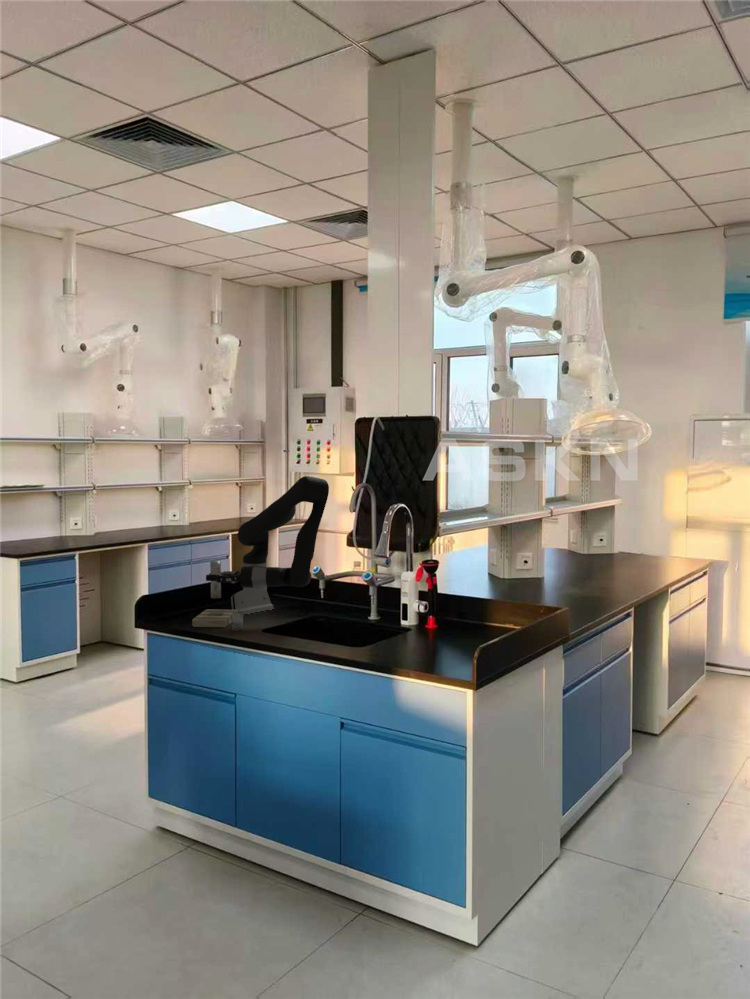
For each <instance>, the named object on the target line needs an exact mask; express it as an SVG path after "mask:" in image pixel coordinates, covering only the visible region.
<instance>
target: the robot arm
mask: <svg viewBox="0 0 750 999" xmlns="http://www.w3.org/2000/svg"><path fill="white" fill-rule="evenodd" d="M329 490H330V486H329V483H328V482H327V480H326V479H323V478H319V477H314V476H307V475H306V476H302V477H300V478H298V480H296V482H294V484H292V486H291V487H290V488H289V489H288V490H287V491H285V493H284V494H282V495H281V496H280V497H279V498H278V499H276V500H275V501H274V502H272V503H271V504H269V506H267V507H266V508H264V510H262V511H260V513H258V514H257V515H256V516H254V517H253V518H252V519H249V520H247V521H246V522H244V523H242V524H241V525H240V527H239V528H238V531H237V539H238V542H239V543H240V544H241V545H243V546H247V547H251V546H253V547H252V549H251V550H250V551H249V552H247V553H245V554H244V555H243V557H242V566H241V569H240V571H239V570H232V571H231V570H227V571H226V570H225V571H221V574H217V575H211V573H210V572H209V573H208V574H206V575H205V581H206V582H211V581H216V582H218V583H221V584H237V583H238V582H239V583H240V586H241V587H242V590H244V589H249V588H261V589H265V590H266V591H267V590H268V588H271V587H272V588H273V587H274V588H278V587H279V588H280V587H283V586H286V587H296V588H303V587H306V586H307V585H309V584H310V582H311V581H312V573H311V565H312V564H311V563H312V560H313V559H314V555H315V548H316V543H317V542H316V540H317V537H318V536H317V535H318V532H319V529H320V525H321V521H322V518H323V515H324V511H325V508H326V505H327V503H328V499H329V498H328V497H329V493H330V492H329ZM304 502H305V503H310V504H312V508H311V511H310V514H309V516H308V518H307V519H306V521H305V522H304V523H303V525H302V526H301V527H300V529H299V531H298V533H297V535H296V539H295V546H294V552H293V554H294V555H293V559H292V563H291V566H290V567H280V566H269V567H268V566H267V565H268V564H267V559H268V554H269V542H270V541H269V536H270V535H269V534H270V533H269V532H271V531H273V530H276V529H279V528H281V527H284V525H286V524H287V523H288V522H290V521H292V519H293V518H294V517H295V515H296V506H298V505H299V504H300V503H304ZM220 577H221V580H220ZM267 592H268V591H267Z"/></svg>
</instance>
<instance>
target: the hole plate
mask: <svg viewBox="0 0 750 999" xmlns="http://www.w3.org/2000/svg"><path fill="white" fill-rule="evenodd" d="M233 612H238V610H232V609H221V608H220V609H219V608H218V609H217V608H216V609H215V608H213V609H210V608H209V609H208V608H207V609H205V610H203V611H202V612H201V613H199V614H198V615H197V616H195V617H194V618H193V619H192V622H191V623H192V625H191V626H193V628H195V627H196V628H197V627H198V628H199V627H200V628H202V627H203V628H227V627H228V626H229V625H230V624H232V613H233ZM227 625H228V626H227ZM226 626H227V627H226Z"/></svg>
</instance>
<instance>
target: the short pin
mask: <svg viewBox="0 0 750 999" xmlns="http://www.w3.org/2000/svg"><path fill="white" fill-rule="evenodd" d="M231 624H232V625H231V626H232V631H233V630H234V631H233V632H240V631H239V630H242V631H243V630H244V615H243V612H233V613H232V622H231Z"/></svg>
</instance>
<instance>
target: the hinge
mask: <svg viewBox="0 0 750 999" xmlns="http://www.w3.org/2000/svg"><path fill="white" fill-rule="evenodd" d="M230 602H231V610H238V612H243V616H245V615H244V614H248V615H251V614H250V613H254V614H256V613H255V612H259V613H261V612H260V611H264V612H266V611H265V610H270V611H273V610H272V609H274V610H275V608H274V604H272V602H271V599H270V595H269V594H268V591H266V590H265V589H261V588H249V589H244V590H243V589H242V590H240V591H238V592H236V593H234V594H233V595H232V596H231V597H230Z"/></svg>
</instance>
